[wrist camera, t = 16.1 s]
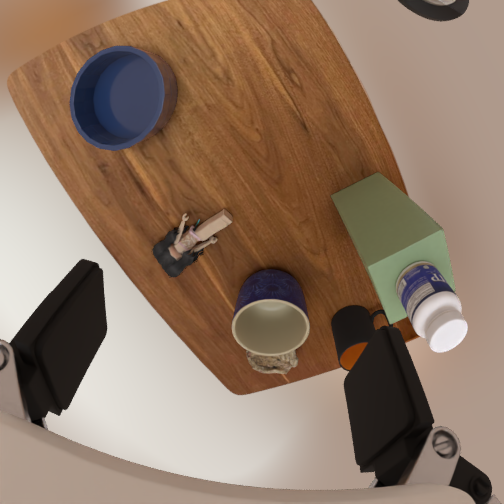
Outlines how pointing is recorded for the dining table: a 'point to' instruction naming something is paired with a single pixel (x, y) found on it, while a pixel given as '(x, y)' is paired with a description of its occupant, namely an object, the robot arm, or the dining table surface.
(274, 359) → the seashell
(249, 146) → the dining table surface
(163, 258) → the toy figure
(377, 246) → the stand
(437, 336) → the pill bottle
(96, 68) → the bowl
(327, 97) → the dining table surface
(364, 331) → the mug
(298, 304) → the planter
